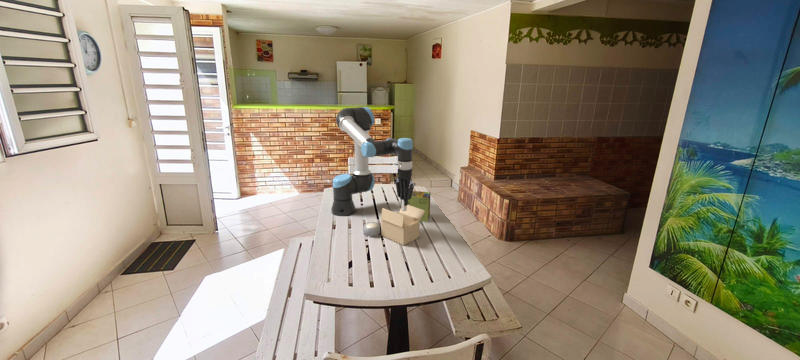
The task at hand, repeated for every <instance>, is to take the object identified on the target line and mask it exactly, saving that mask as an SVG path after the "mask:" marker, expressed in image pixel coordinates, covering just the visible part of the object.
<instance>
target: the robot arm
mask: <svg viewBox="0 0 800 360" xmlns="http://www.w3.org/2000/svg"><path fill="white" fill-rule="evenodd" d="M335 122H336V126H337V127H338V129H340V130H341V131H342V132H345V133H346V134H347V135H348V136H349V137H350V138H351V139H352V140H353V141H354V142H353V143H354V170H353V171H352V175H351V174H350V173H342V174H337V175H336V176H334V178H333V179H332V194H333V200H332V201H333V202H332V206H331V209H330V210H331V214H333V215H335V216H339V217H341V216H345V217H346V216H350V215H353V214H355V213H356V206H355V203H354V200H353V195H355V194H361V193H367V192H370V191H372V190H373V188H375V187H374V186H375V184H376V183H375V180H376V179H375V176H374V174H373V173H372V171H371V170H370V169H369V158H374V157H380V156H387V155H388V156H389V155H396V156H397V178H396V179H395V178H394V179H393V180H394V184H395V188H396V194H397V198H399V199H400V205H401V208H400V209H401V211H403V212H404V211H406V210H407V205H408V200H409V199H411V197H412V193H413V191H414V189H415V186H416V182H413V180H412V175H413V169H412V168H413V154H414V153H413V151H414V150H413V148H414V145H413V139H412V138H409V137H401V138H398V139H396V138H390V137H389V138H386V139H384V140H375V139H374V138H373V137H372V136H371V135H369V132H371V129H372V128H371V127H373V126H374V124H375V115H374V112H373V111H372V109H371V108H369V107H363V106H358V107H357V106H356V107H345V108H342V109H341V110H340V111H338V113H337V115H336V118H335Z"/></svg>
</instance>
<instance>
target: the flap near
mask: <svg viewBox="0 0 800 360" xmlns="http://www.w3.org/2000/svg"><path fill="white" fill-rule="evenodd" d="M380 219H382V220H385V221H387V222H390V223H392V224H395V225H397V226H400V227H403V221H404V216H403V215H400V214H398V213H397V212H394V211H392V210H389V209H387V208H383V207H382V208H381V216H380Z"/></svg>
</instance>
